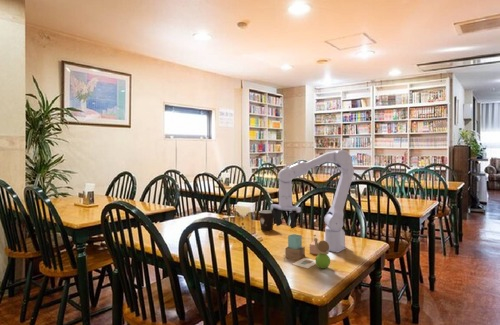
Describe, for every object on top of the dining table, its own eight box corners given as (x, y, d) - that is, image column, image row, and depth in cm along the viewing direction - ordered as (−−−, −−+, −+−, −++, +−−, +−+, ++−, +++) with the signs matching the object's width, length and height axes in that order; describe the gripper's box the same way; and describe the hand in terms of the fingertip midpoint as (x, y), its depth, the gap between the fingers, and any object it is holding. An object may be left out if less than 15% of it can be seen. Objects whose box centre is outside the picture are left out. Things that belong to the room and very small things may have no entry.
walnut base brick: (291, 253, 146) (291, 244, 146) (304, 256, 143) (304, 246, 142) (285, 257, 141) (285, 248, 141) (298, 260, 138) (298, 250, 137)
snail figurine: (317, 263, 132) (317, 233, 132) (332, 267, 128) (332, 235, 128) (310, 267, 128) (310, 236, 128) (326, 271, 124) (326, 239, 124)
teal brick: (293, 245, 144) (293, 233, 144) (301, 247, 142) (301, 235, 141) (288, 247, 141) (288, 235, 141) (296, 249, 139) (296, 237, 138)
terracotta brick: (312, 250, 149) (312, 241, 149) (321, 252, 148) (321, 242, 148) (309, 253, 146) (309, 244, 146) (318, 254, 144) (318, 245, 144)
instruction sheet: (304, 258, 139) (304, 257, 139) (319, 262, 134) (319, 261, 134) (292, 264, 132) (292, 263, 132) (308, 268, 127) (308, 267, 127)
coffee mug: (256, 228, 191) (256, 210, 191) (271, 227, 194) (271, 209, 193) (263, 233, 180) (263, 214, 180) (279, 232, 183) (279, 213, 182)
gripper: (266, 195, 151) (267, 226, 152) (294, 198, 142) (294, 230, 142) (276, 193, 157) (276, 223, 157) (303, 196, 147) (303, 227, 148)
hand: (285, 226), depth 150 cm, fingers open, 7 cm apart
